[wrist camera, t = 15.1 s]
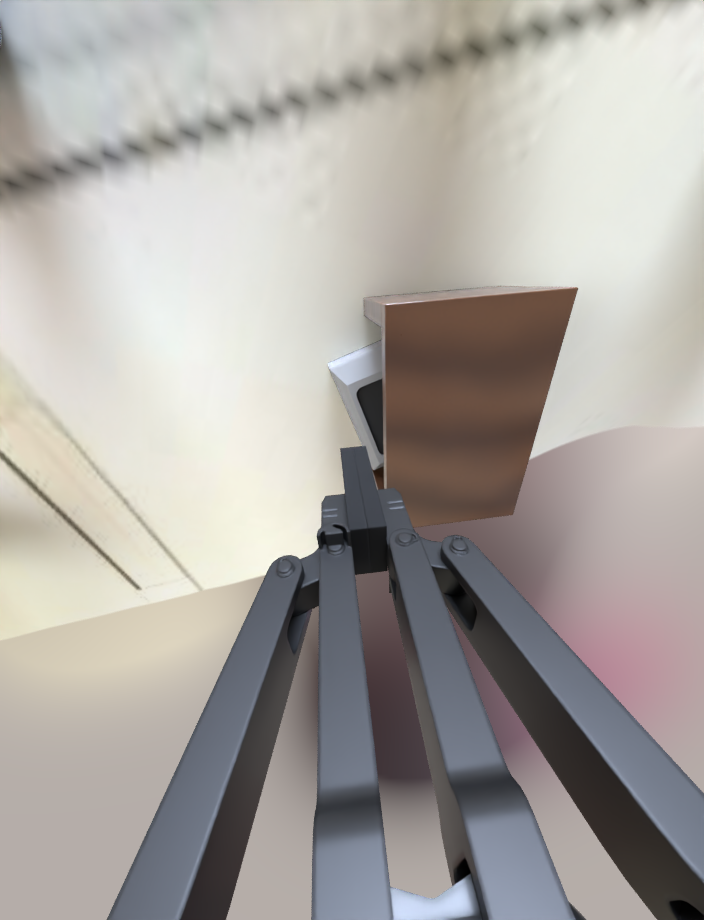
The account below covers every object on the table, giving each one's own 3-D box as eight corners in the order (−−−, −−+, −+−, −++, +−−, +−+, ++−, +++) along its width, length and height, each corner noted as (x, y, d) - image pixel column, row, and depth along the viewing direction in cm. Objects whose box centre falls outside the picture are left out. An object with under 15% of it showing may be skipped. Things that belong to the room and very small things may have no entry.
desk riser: (363, 297, 31) (384, 304, 22) (498, 285, 32) (579, 287, 22) (371, 475, 43) (387, 531, 34) (469, 463, 44) (513, 515, 34)
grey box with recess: (413, 334, 30) (443, 449, 38) (404, 329, 33) (433, 437, 41) (329, 371, 31) (374, 476, 39) (327, 363, 34) (370, 461, 42)
